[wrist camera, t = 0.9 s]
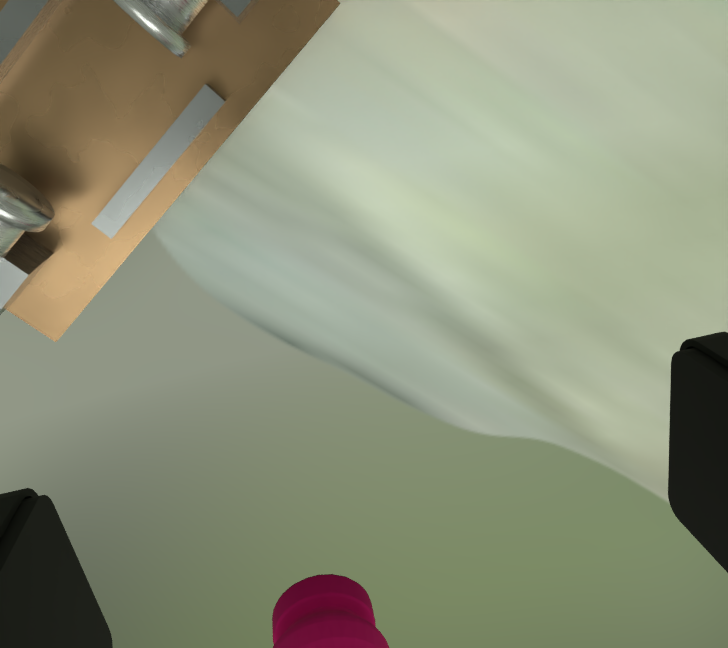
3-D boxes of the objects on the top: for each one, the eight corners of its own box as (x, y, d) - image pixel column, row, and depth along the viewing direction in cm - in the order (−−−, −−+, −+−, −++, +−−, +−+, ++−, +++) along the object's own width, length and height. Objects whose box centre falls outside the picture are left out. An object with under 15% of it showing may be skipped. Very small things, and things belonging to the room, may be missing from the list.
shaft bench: (151, -206, 24) (117, -297, 18) (342, -1, 28) (366, -22, 22) (-147, 203, 28) (-256, 237, 22) (58, 338, 31) (11, 399, 25)
